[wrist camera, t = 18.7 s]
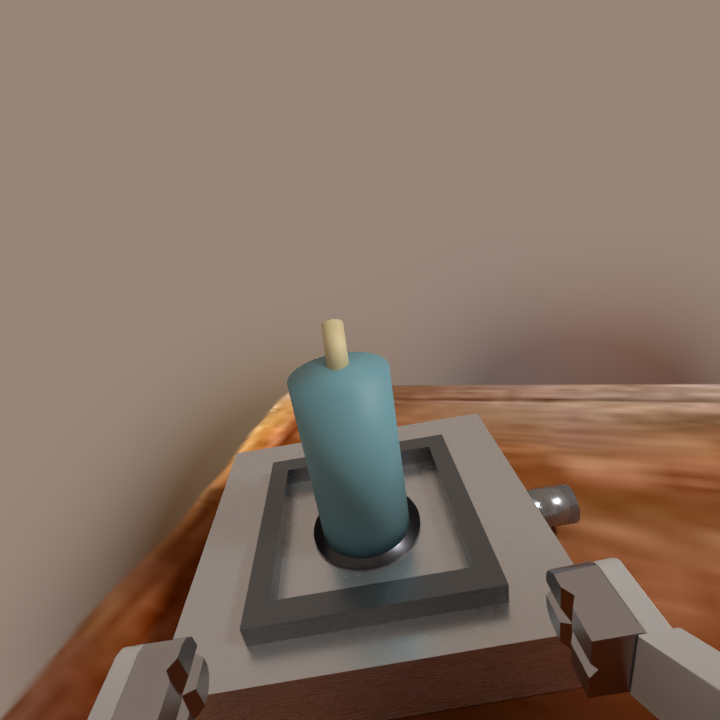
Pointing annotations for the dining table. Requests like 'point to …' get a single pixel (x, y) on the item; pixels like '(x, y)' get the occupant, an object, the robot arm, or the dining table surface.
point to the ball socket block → (381, 590)
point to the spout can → (351, 446)
